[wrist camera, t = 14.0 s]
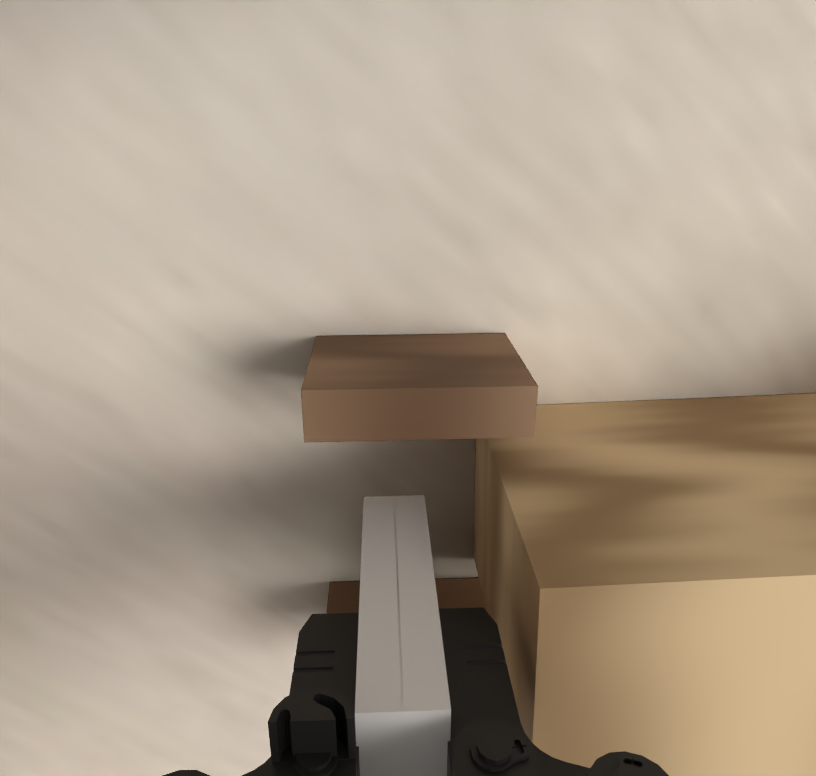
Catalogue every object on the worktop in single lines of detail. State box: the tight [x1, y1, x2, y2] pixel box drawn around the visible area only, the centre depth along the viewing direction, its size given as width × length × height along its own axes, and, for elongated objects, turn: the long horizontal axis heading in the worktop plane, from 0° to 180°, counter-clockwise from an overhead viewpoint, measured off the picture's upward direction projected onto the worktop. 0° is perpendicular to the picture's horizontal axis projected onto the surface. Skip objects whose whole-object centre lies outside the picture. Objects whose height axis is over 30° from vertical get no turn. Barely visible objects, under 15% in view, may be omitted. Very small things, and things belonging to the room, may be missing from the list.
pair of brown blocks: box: [301, 333, 538, 614], centre depth 18 cm, size 5×9×4 cm, turn 0°
